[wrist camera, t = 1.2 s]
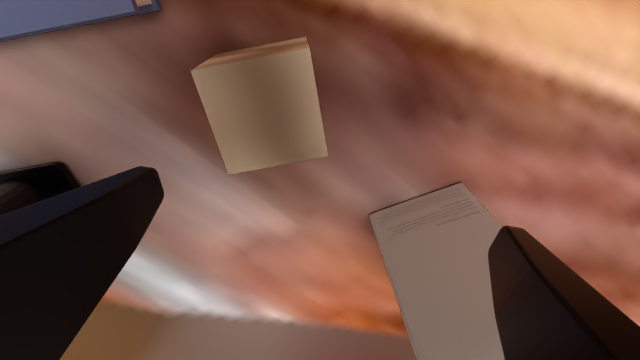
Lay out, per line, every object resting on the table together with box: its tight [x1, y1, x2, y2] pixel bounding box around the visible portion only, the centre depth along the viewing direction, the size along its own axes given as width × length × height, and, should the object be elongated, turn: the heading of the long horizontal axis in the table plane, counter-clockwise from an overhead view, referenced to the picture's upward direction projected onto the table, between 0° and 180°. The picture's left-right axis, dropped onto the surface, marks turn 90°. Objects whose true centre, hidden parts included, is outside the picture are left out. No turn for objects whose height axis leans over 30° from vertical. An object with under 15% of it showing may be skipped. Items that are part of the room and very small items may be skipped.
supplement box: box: [369, 183, 505, 360], centre depth 19 cm, size 7×7×13 cm
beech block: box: [191, 37, 328, 175], centre depth 16 cm, size 5×5×5 cm
